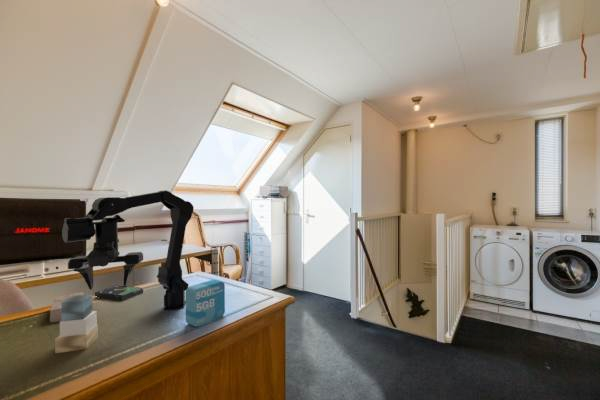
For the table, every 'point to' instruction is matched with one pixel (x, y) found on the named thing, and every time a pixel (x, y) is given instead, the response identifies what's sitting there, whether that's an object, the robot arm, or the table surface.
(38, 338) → the table surface
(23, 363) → the table surface
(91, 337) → the oak slab
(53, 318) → the brick
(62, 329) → the white slab
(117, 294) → the disk drive
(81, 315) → the blue cube
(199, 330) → the table surface
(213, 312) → the data package
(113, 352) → the table surface
